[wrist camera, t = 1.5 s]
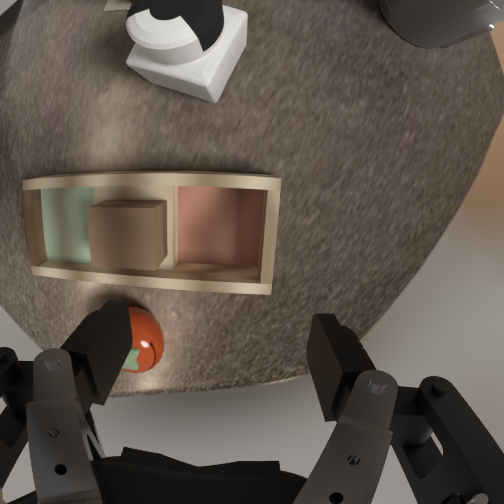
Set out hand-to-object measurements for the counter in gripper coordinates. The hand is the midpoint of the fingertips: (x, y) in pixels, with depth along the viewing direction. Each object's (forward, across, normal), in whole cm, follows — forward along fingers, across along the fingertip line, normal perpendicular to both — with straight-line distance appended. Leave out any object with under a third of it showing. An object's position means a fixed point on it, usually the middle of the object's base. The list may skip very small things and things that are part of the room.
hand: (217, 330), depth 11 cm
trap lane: (+18, +9, 0) cm, 20 cm away
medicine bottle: (+18, +4, -16) cm, 25 cm away
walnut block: (+16, +9, 0) cm, 18 cm away
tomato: (+18, +10, +12) cm, 24 cm away
